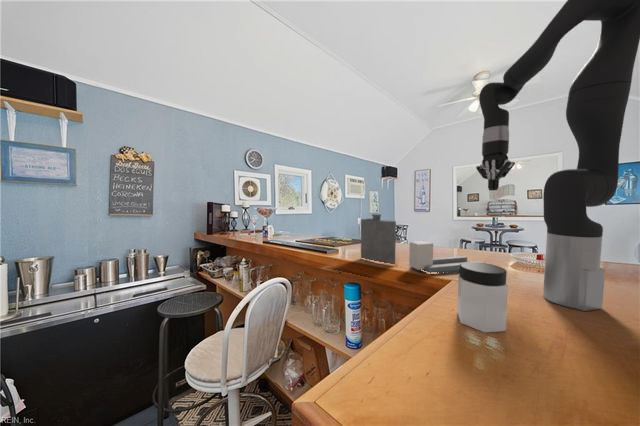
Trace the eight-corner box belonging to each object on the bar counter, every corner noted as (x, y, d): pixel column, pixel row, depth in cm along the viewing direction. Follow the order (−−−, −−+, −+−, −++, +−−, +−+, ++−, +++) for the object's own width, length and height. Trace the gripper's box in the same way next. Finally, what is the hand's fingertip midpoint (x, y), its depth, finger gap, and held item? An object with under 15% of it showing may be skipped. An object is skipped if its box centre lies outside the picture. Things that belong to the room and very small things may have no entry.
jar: (483, 311, 54) (485, 261, 53) (516, 331, 46) (519, 272, 45) (447, 313, 53) (449, 262, 52) (474, 334, 45) (477, 274, 44)
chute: (485, 269, 84) (485, 262, 84) (429, 275, 79) (429, 267, 78) (462, 262, 94) (462, 256, 94) (411, 266, 88) (411, 260, 88)
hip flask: (396, 265, 90) (397, 214, 89) (391, 267, 88) (391, 215, 86) (363, 257, 102) (364, 212, 101) (358, 259, 99) (358, 213, 98)
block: (432, 268, 82) (433, 243, 81) (417, 269, 80) (418, 244, 80) (423, 264, 87) (423, 240, 86) (409, 265, 85) (409, 241, 85)
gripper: (470, 145, 87) (468, 190, 88) (505, 136, 74) (503, 189, 75) (486, 146, 89) (484, 190, 90) (523, 137, 76) (521, 189, 77)
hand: (493, 190), depth 83 cm, fingers closed
